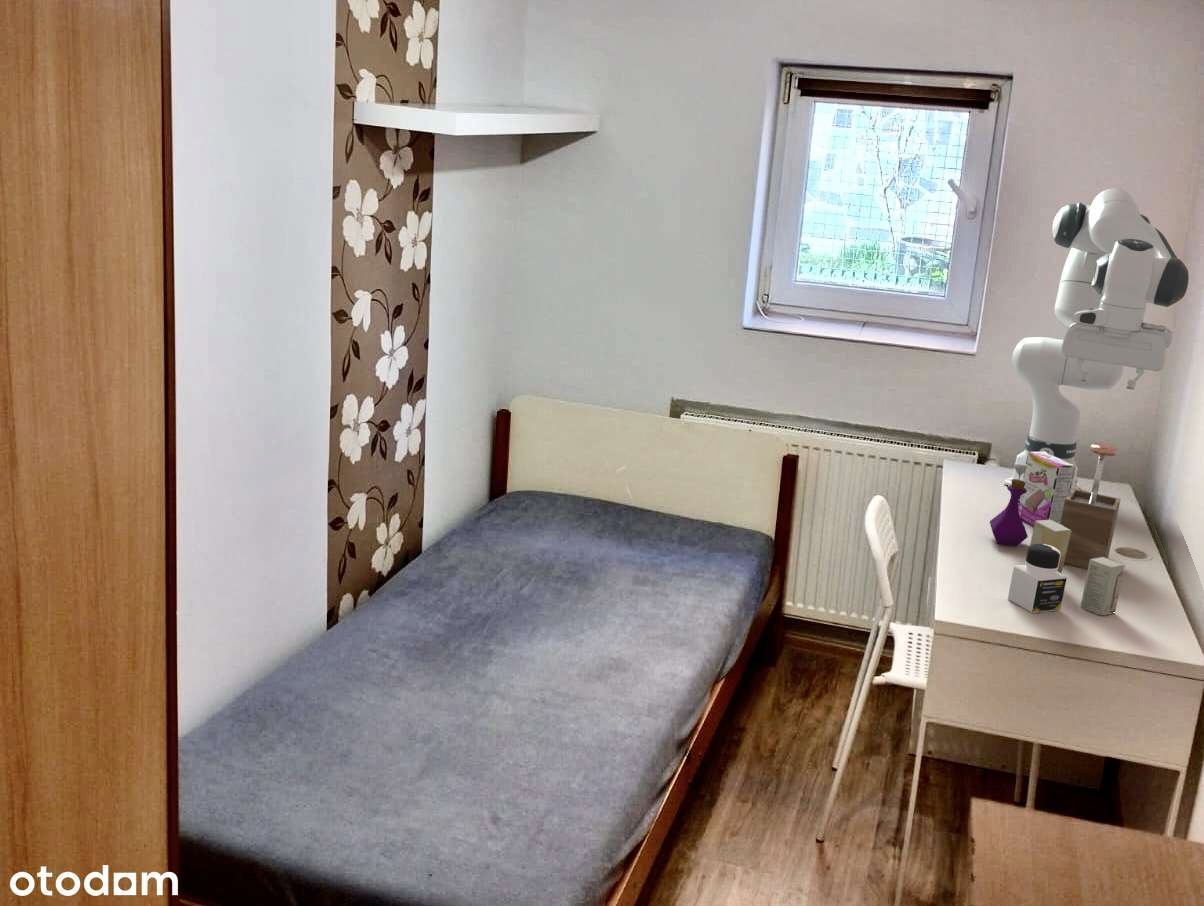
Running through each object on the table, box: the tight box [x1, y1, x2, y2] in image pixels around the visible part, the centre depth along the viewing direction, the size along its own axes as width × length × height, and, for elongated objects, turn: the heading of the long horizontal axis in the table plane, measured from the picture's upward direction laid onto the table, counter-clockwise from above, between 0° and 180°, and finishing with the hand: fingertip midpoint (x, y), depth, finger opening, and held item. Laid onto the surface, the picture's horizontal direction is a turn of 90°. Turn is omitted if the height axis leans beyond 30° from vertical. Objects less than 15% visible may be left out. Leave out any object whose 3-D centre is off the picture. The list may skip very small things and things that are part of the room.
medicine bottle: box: [1007, 544, 1068, 614], centre depth 241 cm, size 7×7×12 cm
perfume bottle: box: [989, 463, 1029, 548], centre depth 275 cm, size 8×8×18 cm
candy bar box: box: [1018, 451, 1075, 528], centre depth 289 cm, size 11×5×16 cm, turn 20°
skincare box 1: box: [1029, 520, 1071, 574], centre depth 254 cm, size 6×4×12 cm
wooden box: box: [1060, 489, 1122, 571], centre depth 268 cm, size 10×10×14 cm
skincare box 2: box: [1080, 557, 1125, 616], centre depth 242 cm, size 5×4×10 cm
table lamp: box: [1074, 442, 1118, 508], centre depth 265 cm, size 8×8×13 cm
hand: (1106, 384), depth 262 cm, fingers open, 8 cm apart
